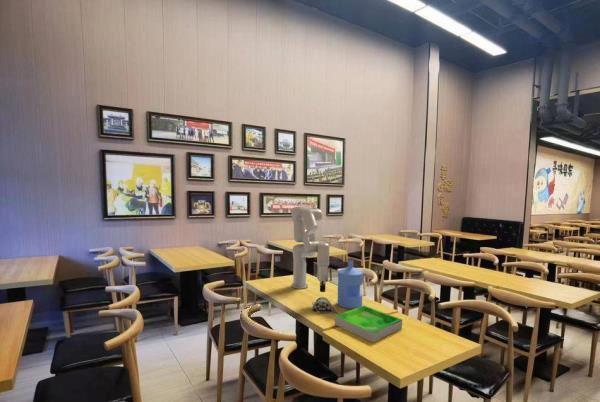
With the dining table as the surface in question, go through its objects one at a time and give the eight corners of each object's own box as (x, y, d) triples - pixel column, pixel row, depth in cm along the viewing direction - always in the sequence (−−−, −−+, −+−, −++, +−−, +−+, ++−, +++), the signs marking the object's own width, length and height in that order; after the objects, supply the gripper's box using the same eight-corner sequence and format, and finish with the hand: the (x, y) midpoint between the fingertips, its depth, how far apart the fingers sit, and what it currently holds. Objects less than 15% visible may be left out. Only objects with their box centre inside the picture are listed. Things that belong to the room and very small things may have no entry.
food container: (332, 295, 189) (333, 301, 179) (332, 305, 189) (332, 312, 179) (312, 294, 190) (312, 300, 180) (312, 304, 190) (311, 310, 180)
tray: (334, 325, 163) (334, 316, 163) (363, 313, 180) (364, 305, 179) (373, 343, 144) (373, 332, 144) (402, 328, 160) (402, 319, 160)
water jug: (332, 303, 193) (333, 260, 192) (348, 298, 204) (349, 256, 203) (351, 311, 181) (352, 264, 181) (367, 305, 192) (368, 261, 191)
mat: (312, 302, 195) (312, 301, 195) (330, 301, 197) (330, 301, 197) (318, 313, 177) (318, 312, 177) (338, 312, 179) (338, 311, 179)
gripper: (314, 260, 199) (314, 288, 200) (319, 265, 185) (319, 295, 185) (326, 260, 200) (325, 287, 201) (331, 265, 186) (331, 295, 186)
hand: (322, 291), depth 193 cm, fingers closed
